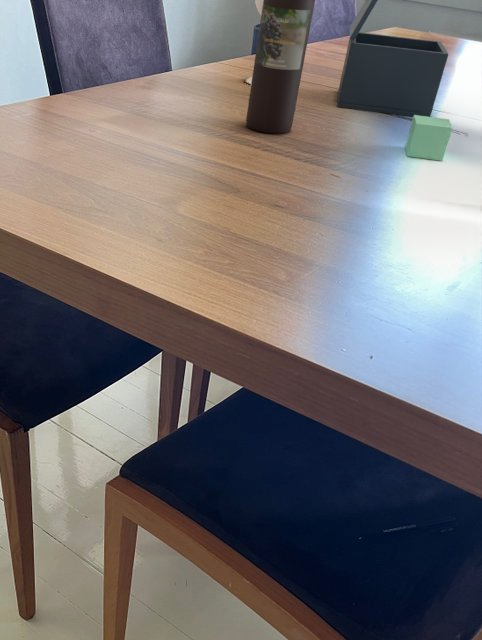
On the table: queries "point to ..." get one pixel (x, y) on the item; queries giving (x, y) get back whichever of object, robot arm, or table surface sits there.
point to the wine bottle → (278, 64)
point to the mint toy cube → (428, 137)
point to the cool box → (391, 74)
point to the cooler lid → (361, 18)
